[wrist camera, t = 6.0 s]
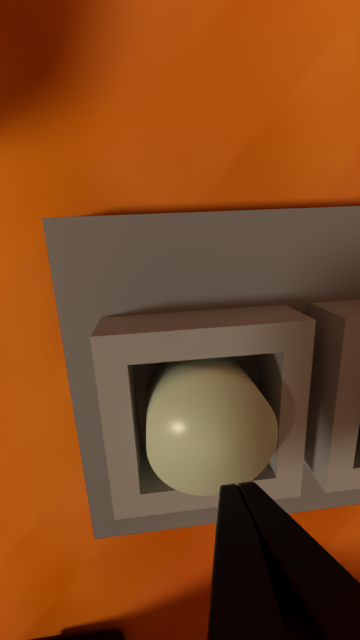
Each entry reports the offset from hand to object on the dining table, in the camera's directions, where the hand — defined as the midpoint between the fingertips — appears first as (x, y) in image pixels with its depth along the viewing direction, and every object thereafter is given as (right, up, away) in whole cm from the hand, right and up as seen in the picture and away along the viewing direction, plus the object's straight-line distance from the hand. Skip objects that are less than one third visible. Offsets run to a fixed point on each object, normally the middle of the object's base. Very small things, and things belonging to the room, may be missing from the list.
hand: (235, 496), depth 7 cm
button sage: (-1, +1, +5) cm, 5 cm away
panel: (+7, +2, +8) cm, 11 cm away
